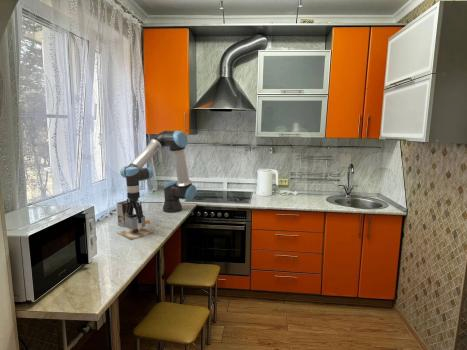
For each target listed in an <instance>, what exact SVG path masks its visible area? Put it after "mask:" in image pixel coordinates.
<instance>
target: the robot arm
mask: <svg viewBox="0 0 467 350" xmlns="http://www.w3.org/2000/svg"><path fill="white" fill-rule="evenodd" d="M188 141H189V139H188V136H187V134H186V133H185V132H184V131H180V130H163V131H160V132H158V133H157V134H156V135H154V136H153V137H152V138H151V139H150V142H149V143H148V144H147V146H146V147H145V148H144V149H143V150H142V151H141V152H140V153H139V154H138V155H137V156H136V157H135V158H134V159H133V160H132V162H131V163H130V164H129V165H126V166H123V167H122V168H121V169H120V175H121V177H122V178H125V180H126V192H127V193H126V197H127V198H126V201H127V209H126V213H128V215H132V214H133V213H132V212H133V209H134V212H135V214H136V215H137V218H136V219H137V228H142V224H141V218H142V217H143V215H144V212H143V206H142V201H139V198H140V196H141V195H140V194H141V192H140V191H141V190H140V182H141V181H147V180H149V179H152V178H153V176H154V171H153V169H152V168H151V167H144V166H145V165H146V164H147V163H148V162H149V161H150V160H151V159H152V158H153V156H155V154H156V153H157V152H158V151H161V150H162V149H163V148H165V147H167V148H168V147H169V152H171V153H172V158H173V163H174V167H175V168H174V169H175V172H176V178H177V180H173V181H172V180H171V181H168V182H165V183H164V184H163V193H164V195H163V197H164V201H163V202H164V203H163V207H162V212H164V213H178V212H181V211H182V210H183V207H182V204H181V200H185V201H187V200H188V201H189V200H190V201H191V200H192V199H194V197H195V195H197V194H196V193H197V186H195V185H194V184H193V182H192V180H190V176H189V172H188V165H187V160H186V155H185V149H186V146H187V145H188Z"/></svg>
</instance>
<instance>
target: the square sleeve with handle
mask: <svg viewBox="0 0 467 350" xmlns="http://www.w3.org/2000/svg"><path fill="white" fill-rule="evenodd" d="M136 218H137V215H136V213H134V214H132V215H127V216H125V228H127V229H132V230H134V229H138V228H137V219H136ZM141 224H142V227H144V228H146V225H148V224H151V221H150V220H149V219H146V216H145V215H144V214H143V217H142V218H141Z"/></svg>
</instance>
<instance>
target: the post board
mask: <svg viewBox="0 0 467 350" xmlns="http://www.w3.org/2000/svg"><path fill="white" fill-rule="evenodd" d="M151 234H154V231H153V230H151V229H148V228H146V227H142V228H138V229H134V230H132V229H129V228H127V229H126V230H125V229H124V230H122V231H118V232H117V235H120V236H122V237H124V238H126V239H128V240H130V241H132V240H135V239H139V238H143V237H146V236H149V235H151ZM142 236H143V237H142Z"/></svg>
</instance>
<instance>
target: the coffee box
mask: <svg viewBox="0 0 467 350" xmlns="http://www.w3.org/2000/svg"><path fill="white" fill-rule="evenodd" d="M126 209H127V200H124V201H123V200H122V201H120V202H116V213H117V226H119V227H125V216H127V215H128V213H126ZM134 212H135V209H134V208H133V212H132V213H133V214H135V213H134ZM125 228H126V227H125Z"/></svg>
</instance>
